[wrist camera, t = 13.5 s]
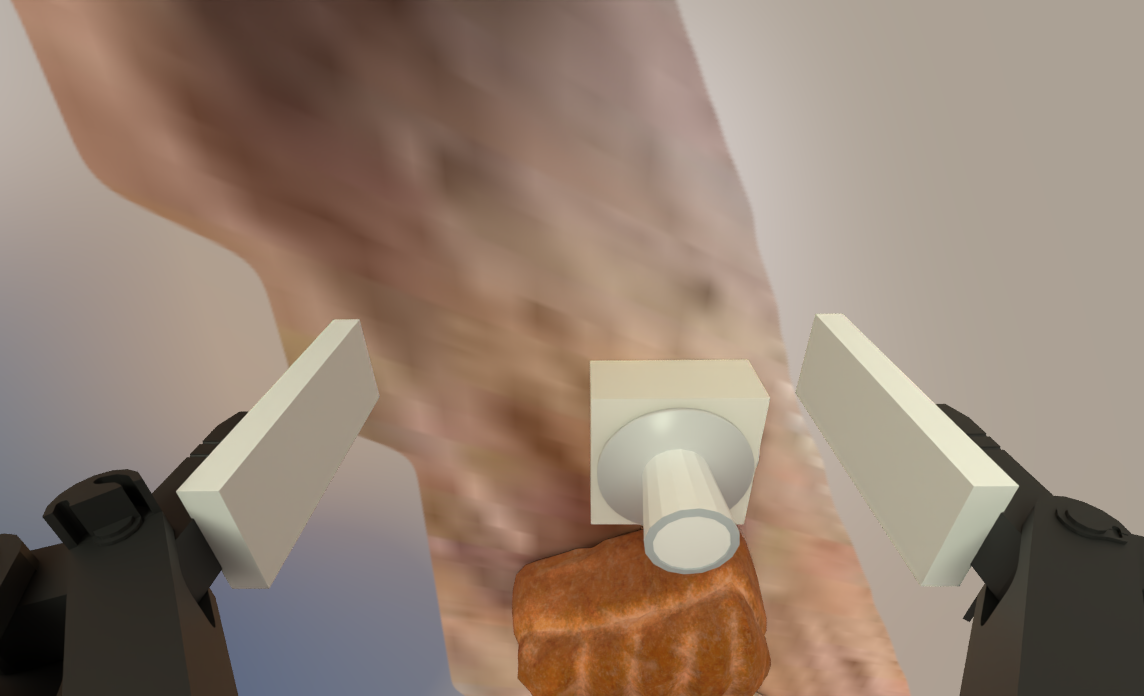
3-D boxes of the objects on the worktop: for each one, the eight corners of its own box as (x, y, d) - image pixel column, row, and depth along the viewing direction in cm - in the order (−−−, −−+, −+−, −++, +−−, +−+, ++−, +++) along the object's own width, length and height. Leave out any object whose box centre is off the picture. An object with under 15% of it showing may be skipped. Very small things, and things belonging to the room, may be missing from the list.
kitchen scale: (590, 478, 52) (591, 532, 45) (590, 360, 45) (591, 406, 39) (733, 477, 51) (753, 533, 45) (755, 359, 44) (782, 405, 38)
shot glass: (620, 489, 43) (626, 559, 37) (660, 431, 40) (675, 497, 34) (689, 514, 44) (706, 586, 38) (733, 460, 41) (760, 528, 35)
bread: (504, 560, 58) (481, 709, 45) (729, 497, 53) (779, 645, 39) (554, 628, 64) (546, 776, 51) (759, 578, 59) (812, 729, 45)
